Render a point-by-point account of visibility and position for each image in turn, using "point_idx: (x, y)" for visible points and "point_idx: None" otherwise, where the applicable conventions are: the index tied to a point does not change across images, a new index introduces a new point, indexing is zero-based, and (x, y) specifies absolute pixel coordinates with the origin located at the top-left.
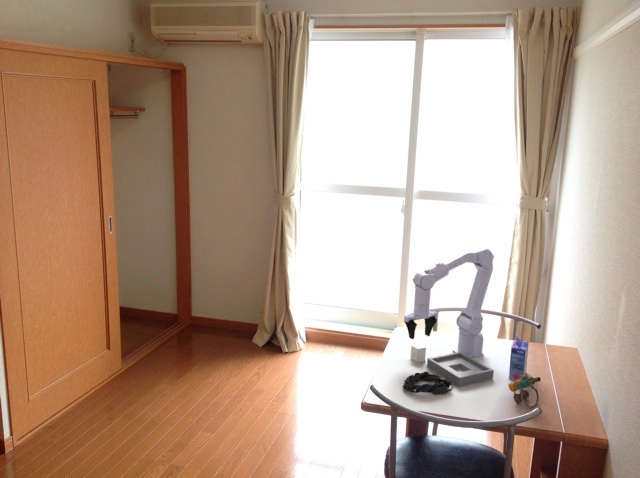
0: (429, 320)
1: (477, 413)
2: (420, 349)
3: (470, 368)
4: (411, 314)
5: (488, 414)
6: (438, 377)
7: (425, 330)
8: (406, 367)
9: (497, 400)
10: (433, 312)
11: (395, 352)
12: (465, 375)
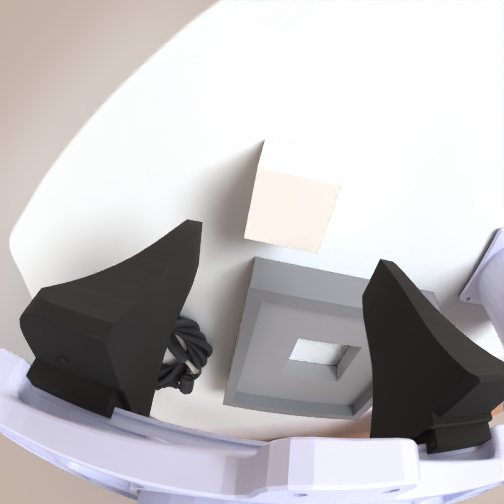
0: (394, 431)
1: (174, 418)
2: (269, 239)
3: (345, 376)
4: (108, 460)
5: (191, 427)
6: (181, 361)
7: (392, 285)
8: (161, 207)
9: (255, 425)
10: (469, 495)
11: (250, 24)
12: (252, 407)
